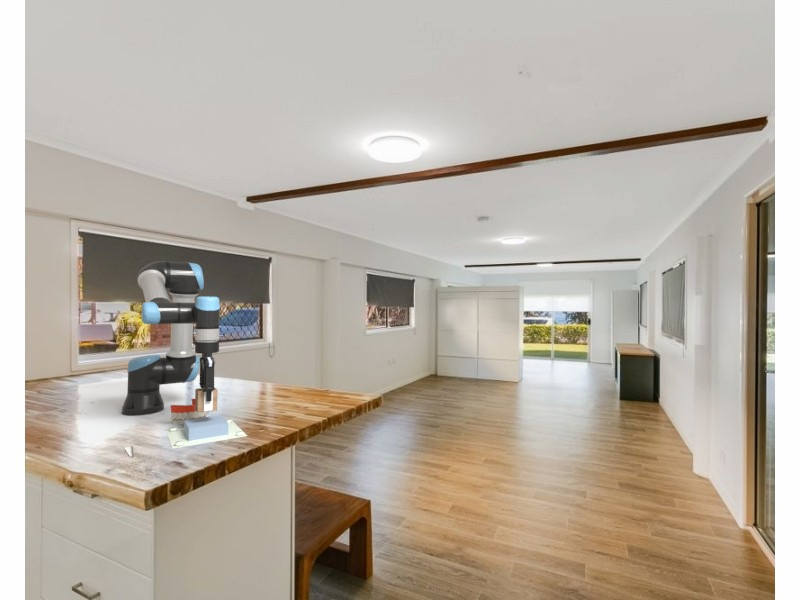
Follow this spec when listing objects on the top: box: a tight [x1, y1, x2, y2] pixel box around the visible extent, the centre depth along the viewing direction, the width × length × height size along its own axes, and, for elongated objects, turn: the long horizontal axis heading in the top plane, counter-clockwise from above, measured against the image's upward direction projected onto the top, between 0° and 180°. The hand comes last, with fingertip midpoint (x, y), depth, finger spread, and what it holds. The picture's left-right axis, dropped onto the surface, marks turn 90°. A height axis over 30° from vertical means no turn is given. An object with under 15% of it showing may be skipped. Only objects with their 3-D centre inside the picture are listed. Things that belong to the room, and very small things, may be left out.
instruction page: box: [123, 445, 135, 458], centre depth 125 cm, size 10×7×1 cm
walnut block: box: [194, 386, 219, 413], centre depth 139 cm, size 6×6×7 cm
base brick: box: [183, 414, 229, 441], centre depth 139 cm, size 12×12×4 cm
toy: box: [170, 398, 209, 425], centre depth 155 cm, size 12×10×8 cm
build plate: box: [165, 419, 248, 449], centre depth 139 cm, size 22×22×2 cm
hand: (206, 408), depth 139 cm, fingers closed on walnut block, 6 cm apart
